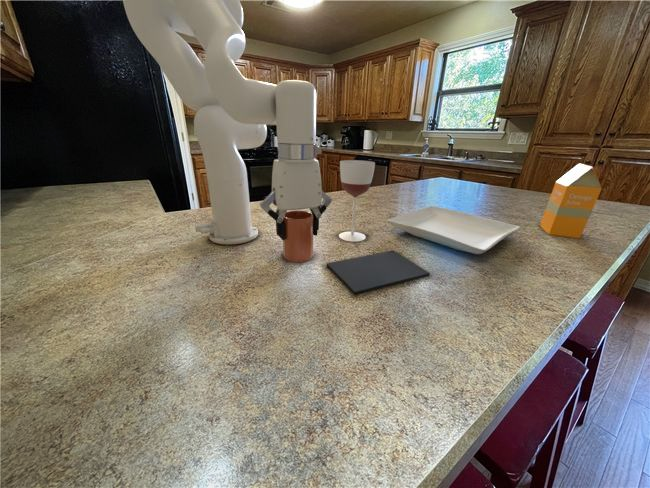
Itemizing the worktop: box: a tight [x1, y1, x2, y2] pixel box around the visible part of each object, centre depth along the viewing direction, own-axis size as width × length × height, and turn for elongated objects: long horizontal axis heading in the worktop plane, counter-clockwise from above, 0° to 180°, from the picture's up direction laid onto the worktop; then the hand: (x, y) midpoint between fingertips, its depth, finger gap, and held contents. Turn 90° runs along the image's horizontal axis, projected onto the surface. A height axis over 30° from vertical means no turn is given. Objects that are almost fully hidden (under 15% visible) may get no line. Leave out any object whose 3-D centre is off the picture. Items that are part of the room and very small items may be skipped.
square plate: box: [387, 205, 522, 255], centre depth 77 cm, size 27×27×4 cm
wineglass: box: [338, 159, 376, 243], centre depth 71 cm, size 8×9×20 cm
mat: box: [326, 250, 431, 295], centre depth 57 cm, size 18×12×1 cm, turn 115°
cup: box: [282, 209, 314, 263], centre depth 61 cm, size 7×7×10 cm
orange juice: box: [539, 162, 603, 239], centre depth 79 cm, size 8×9×20 cm
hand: (298, 235), depth 61 cm, fingers closed on cup, 6 cm apart
